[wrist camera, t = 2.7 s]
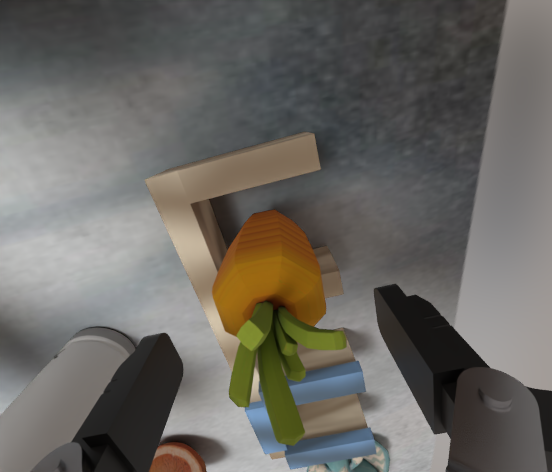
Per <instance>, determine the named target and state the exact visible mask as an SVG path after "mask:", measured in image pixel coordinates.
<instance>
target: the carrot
mask: <svg viewBox="0 0 552 472" xmlns="http://www.w3.org/2000/svg"><path fill="white" fill-rule="evenodd" d="M212 296H213V300H214V302H215V305H216V308H217V311H218V313H219V316H220V319H221V322H222V324H223V327H224V330H225V332H227V333H229V334H231V335H233V336H235V337H237V338H238V339H239V340H240V344H239V346H238V350H237V354H236V358H235V362H234V366H233V370H232V376H231V382H230V388H229V398H230V399H231V400H232V401H233V402H234V403H235V404H236V405H237V406H238V407H249V404H250V397H251V390H252V384H253V376H254V368H255V361H256V354H257V358H258V369H259V380H260V384H261V389H262V393H263V397H264V401H265V405H266V409H267V413H268V416H269V419H270V423H271V426H272V429H273V432H274V435H275V438H276V441H277V442H278V443H281V444H286V445H292V446H294V445H295V444H296V443H297V442H298V441H299V440H300V439H301V438H302V437H303V436H304V434H305V430H304V427H303V424H302V421H301V418H300V415H299V412H298V410H297V407H296V404H295V401H294V398H293V396H292V393H291V390H290V388H289V385H288V382H287V380H286V377H285V375H284V372H283V369H284V371H285V373H286V376H287V378H288V379H290V380H293V381H297V382H300V381H301V380H302V379H303V378H304V377H305V376H306V371H305V368H304V366H303V364H302V362H301V360H300V358H299V356H298V354H297V348H298V344H297V343H300V344H302V345H303V346H305V347H306V348H310V349H317V350H342V349H344V348H346V347H347V340H346V336H345V334H344V332H343V331H340V330H326V329H318V328H316V327H314V326H315V325H316V324H317V323H318V321H319V320H320V319H321V318H322V317H323V316H324V315H325V314H326V302H325V296H324V290H323V283H322V277H321V271H320V265H319V263H318V261H317V258H316V256H315V254H314V251H313V249H312V247H311V245H310V243H309V241H308V239H307V237H306V235H305V233H304V232H303V231H302V230H301V228H300V227H299V226H298V225H297V224H295V223H294V222H293V221H292V220H291V219H289V218H287V217H286V216H284V215H283V214H281V213H279V212H278V211H276V210H275V209H274V210H269V211H264V212H259V213H254V214H253V215H252V216H251V217H249V219H248V220H247V221H246V222H245V224H244V225H243V227H242V228H241V230H240V231H239V233H238V234H237V236H236V238H235V239H234V241H233V242H232V244H231V245H230V247H229V248H228V251H227V253H226V255H225V257H224V259H223V262H222V264H221V266H220V269H219V271H218V274H217V276H216V279H215V282H214V284H213V288H212ZM281 364H282V365H281ZM282 367H283V369H282Z"/></svg>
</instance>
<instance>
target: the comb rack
mask: <svg viewBox="0 0 552 472" xmlns="http://www.w3.org/2000/svg"><path fill="white" fill-rule="evenodd" d="M317 170H321V168H320V162H319V157H318V152H317V146H316V141H315V135H314V133H309V132H302V133H298V134H295V135H291V136H287V137H284V138H280V139H276V140H273V141H269V142H265V143H262V144H258V145H254V146H251V147H247V148H243V149H240V150H236V151H233V152H229V153H225V154H222V155H218V156H214V157H211V158H207V159H203V160H200V161H196V162H192V163H189V164H185V165H181V166H178V167H174V168H170V169H167V170H165V171H163V172H161V173H159V174H156V175H154V176H152V177H150V178H147V179H145V182H146V185H147V187H148V189H149V191H150V193H151V196H152V198H153V200H154V202H155V204H156V207H157V209H158V211H159V213H160V215H161V218H162V220H163V222H164V224H165V226H166V228H167V231H168V233H169V235H170V237H171V239H172V242H173V244H174V246H175V248H176V250H177V253H178V255H179V257H180V259H181V261H182V264H183V266H184V268H185V270H186V272H187V274H188V277H189V279H190V281H191V283H192V285H193V288H194V290H195V292H196V294H197V296H198V299H199V301H200V303H201V305H202V307H203V310H204V312H205V314H206V316H207V318H208V321H209V323H210V325H211V327H212V329H213V331H214V334H215V336H216V338H217V340H218V342H219V345H220V347H221V349H222V351H223V353H224V356H225V358H226V360H227V362H228V364H229V367H230V369H231V371H232V370H233V366H234V362H235V358H236V354H237V350H238V346H239V344H240V340H239V339H238V338H237V337H235V336H233V335H231V334H229V333H227V332H225V330H224V327H223V324H222V322H221V319H220V316H219V313H218V311H217V308H216V305H215V302H214V300H213V296H212V288H213V284H214V282H215V279H216V276H217V274H218V271H219V269H220V266H221V264H222V262H223V259H224V257H225V255H226V253H227V251H228V250H227V247H226V245H225V242H224V239H223V236H222V234H221V231H220V228H219V226H218V223H217V220H216V217H215V215H214V212H213V209H212V207H211V204H210V201H209V199H210V198H214V197H218V196H222V195H226V194H229V193H233V192H237V191H241V190H245V189H248V188H252V187H256V186H260V185H264V184H268V183H271V182H275V181H279V180H283V179H287V178H290V177H294V176H298V175H302V174H306V173H310V172H313V171H317ZM313 251H314V254H315V256H316V258H317V261H318V263H319V265H320V271H321V277H322V283H323V290H324V296H325V298H329V297H333V296H338V295H342V294H344V293H343V288H342V283H341V277H340V272H339V269H338V267H337V265H336V263H335V261H334V259H333V257H332V255H331V253H330V251H329V249H328V247H327V246H324V247H320V248H315V249H313ZM335 330H340V331H343V332H344V334H345V331H344V329H343V328H340V329H335ZM345 336H346V334H345ZM346 340H347V347H346V348H344V349H342V350H317V349H310V348H306V347H305V346H303V345H302V344H300V343H297V344H298V348H297V354H298V356H299V358H300V360H301V362H302V364H303V366H304V368H305V371H306V376H305V377H304V378H303V379H302V380H301V381H300V382H297V381H293V380H290V379H288V378H287V376H286V373H285V371H284V369H283V367H282V369H283V372H284V375H285V377H286V380H287V382H288V385H289V388H290V390H291V393H292V396H293V398H294V401H295V404H296V407H297V410H298V412H299V415H300V418H301V421H302V424H303V427H304V430H305V434H304V436H303V437H302V438H301V439H300V440H299V441H298V442H297V443H296V444H295V445H294V446H292V445H286V444H281V443H278V442H277V441H276V438H275V435H274V432H273V429H272V426H271V423H270V419H269V416H268V413H267V409H266V405H265V401H264V397H263V393H262V389H261V384H260V380H259V369H258V358H257V354H256V361H255V368H254V376H253V384H252V390H251V397H250V404H249V407H245V412H246V414H247V417H248V419H249V421H250V423H251V425H252V427H253V429H254V432H255V434H256V436H257V438H258V440H259V442H260V444H261V446H262V449H263V451H264V453H265V454H270V456H271V459H277V458H283V457H286V460H287V462H288V465H289V467H290V469H296V468H302V467H307V466H313V465H318V464H324V463H329V462H335V461H340V460H346V459H352V458H357V457H363V456H368V455H374V454H377V453H376V447H375V441H374V437H373V434H372V431H371V428H368V427H367V424H366V421H365V417H364V414H363V411H362V408H361V405H360V402H359V399H358V396H357V393H362V392H366V389H365V383H364V377H363V372H362V369H361V366H360V364H359V361H355V358H354V356H353V353H352V350H351V348H350V345H349V342H348V339H347V337H346ZM281 365H282V364H281Z"/></svg>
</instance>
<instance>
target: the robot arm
mask: <svg viewBox="0 0 552 472" xmlns="http://www.w3.org/2000/svg"><path fill="white" fill-rule="evenodd" d="M374 298H375V306H376V314H377V322H378V326H379V330H380V333H381V335H382V337H383V339H384V341H385V343H386V345H387V347H388V349H389V351H390V353H391V354H392V356H393V358H394V360H395V362H396V364H397V366H398V368H399V369H400V371H401V373H402V375H403V377H404V379H405V381H406V382H407V384H408V386H409V388H410V390H411V392H412V394H413V396H414V397H415V399H416V401H417V403H418V405H419V407H420V409H421V410H422V412H423V414H424V416H425V418H426V420H427V422H428V424H429V425H430V427H431V429H432V431H433V433H434V434H440V433H446V432H447V434H448V435H449V437H450V439H451V443H450V451H449V459H448V466H447V467H446V472H552V391H548V390H539V389H533V388H529V387H526V386H524V385H523V384H522V383H521V382H520V381H518V380H516V379H515V378H514V377H511V376H510V375H508V374H506V373H504V372H501V371H498V370H495V369H491V368H490V367H489V366H488V365H487V364H486V363H485V362H484V361H483V360H482V359H481V357H479V355H478V354H477V353H476V352H475V351H474V350H473V349H472V348H471V347H470V346H469V344H468V343H467V342H466V341H465V340H464V339H463V338H462V337H461V336H460V335H459V334H458V332H457V331H455V329H454V328H453V327H452V326H450V325H449V323H448V322H447V320H446V319H445V318H444V317H443V316H441V315H440V313H439V312H438V311H437V310H436V308H435V307H434V306H433V305H432V304H431V303H430V302H428V301H426V300H424V299H423V298H421V297H419V296H417V295H412V296H406V295H405V294H404V293H403V291H402V290H401V289H400V288H399V286H398V285H397V284H392V285H387V286H382V287H378V288H374ZM182 377H183V363H182V360H181V358H180V356H179V354H178V353H177V351H176V349H175V347H174V345H173V343H172V341H171V339H170V337H169V336H168V334H166V333H160V334H155V335H151V336H146V337H144V338H143V339H142V340H141V342H140V343H139V345H138V347H137V348H136V350H135V351H134V353H132V354H131V355H130V356H129V357H128V358H127V359H126V360H125V361H124V362H123V363H122V364H121V365H120V366H119V368H118V369H117V371H116V372H115V374H114V375H113V377H112V379H111V382H109V383H108V385H107V386H106V388H105V389H104V391H103V392H104V393H103V394H101V396H100V397H99V399H98V400H97V402H96V404H95V405H94V407H93V408H92V410H91V411H90V413H89V415H88V416H87V418H86V419H85V421H84V422H83V424H82V426H81V427H80V429H79V430H78V432H77V433H76V435H75V437H74V438H73V440H72V441H71V443H67V444H64V445H62V446H60V447H58V448H56V449H55V450H53V451H52V452H50V453H49V454H48V455H46V456H45V457H44V458H43V459H42V460H41V461H40V462H39V463H38V464H37V465H36V466H35V467H34V468H33V469H32V470H31V472H149V470H150V467H151V465H152V462H153V459H154V456H155V453H156V450H157V448H158V445H159V442H160V439H161V436H162V434H163V431H164V428H165V425H166V422H167V419H168V417H169V414H170V411H171V408H172V405H173V403H174V400H175V397H176V394H177V391H178V389H179V386H180V383H181V380H182Z"/></svg>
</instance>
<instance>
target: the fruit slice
mask: <svg viewBox="0 0 552 472" xmlns="http://www.w3.org/2000/svg"><path fill="white" fill-rule="evenodd" d="M149 472H207V471H206V466H205V463H204V461H203V459H202V458H201V456H200V455H199V454H198V453H197V452H196V451H195V450H194V449H192V448H191V447H190V446H188V445H186V444H183V443H180V442H169V443H165V444H162V445H160V446H158V448H157V450H156V453H155V456H154V459H153V462H152V465H151V467H150V470H149Z"/></svg>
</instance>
